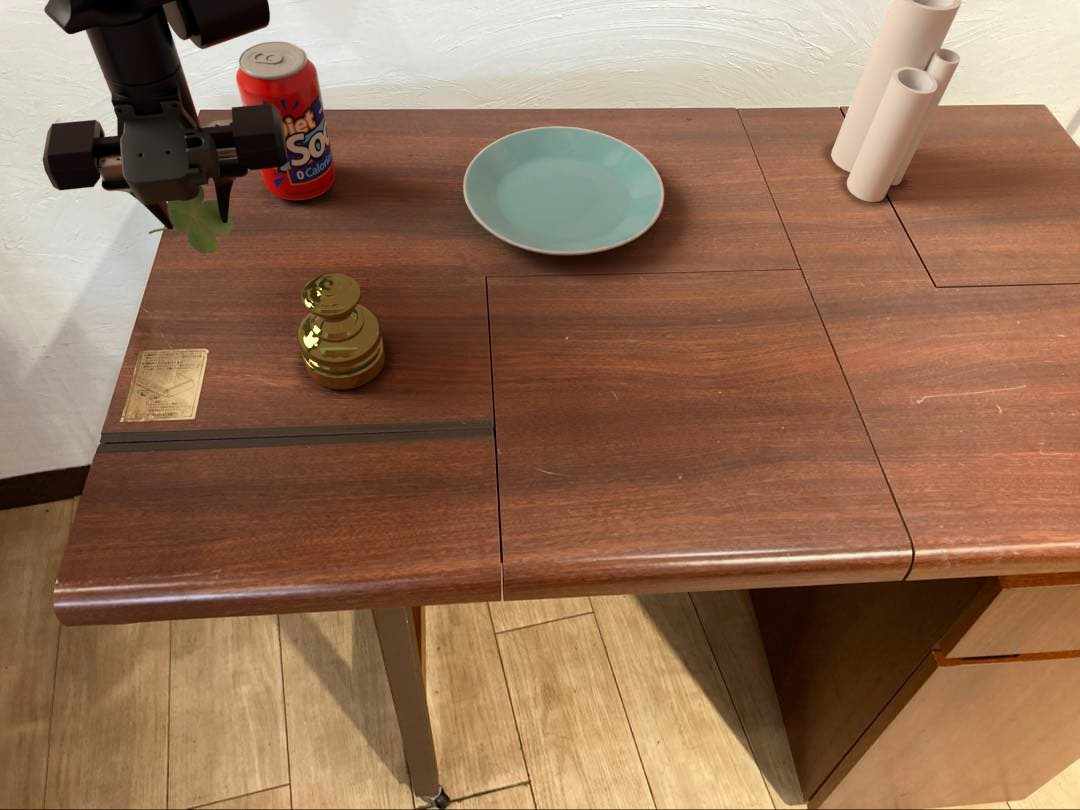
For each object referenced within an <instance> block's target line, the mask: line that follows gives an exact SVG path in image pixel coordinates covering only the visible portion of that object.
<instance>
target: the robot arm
mask: <svg viewBox="0 0 1080 810" xmlns="http://www.w3.org/2000/svg"><path fill="white" fill-rule="evenodd" d="M43 9H44V10H43V11H44V14H46V15H47V16H48V18H49V19H51V20H52V21H53V22H54V23H55V24H56V25H57V26H58V27H60V29H62V31H64V32H65V34H67V35H74V34H78V33H80V32H84V31H85V33H86V35H87V38H88V40H89V42H90V45H91V48H92V50H93V53H94V55H95V58H96V61H97V62H98V65H99V67H100V70H101V73H102V75H103V78H104V80H105V83H106V85H107V87H108V90H109V92H110V96H111V99H110V101H111V105H112V107H113V112H114V113H115V116H116V127H117V128H116V130H117V131H116V132H117V133H116V135H109V136H106V133H105V131H104V129H103V126H102V123H101V122H100V121H98V120H97V119H89V120H78V121H77V120H76V121H68V122H57V123H56V122H55V123H51V125H50V127H49V128H48V130H47V132H46V138H45V143H44V149H43V154H42V164H43V168H44V172H45V174H46V176H47V177H48V180H49V182H50V184H51V186H52V187H53V188H54V189H56V190H58V191H70V190H78V189H89V188H94V187H95V186H96V184H97V183H98V182H99V180H100V179H101V188H102V189H103V190H105V191H107V192H122V193H127V194H129V195H131V196H132V197H133V198H134V199H136V200H137V201H138V202H139V203H141V204H142V205H143V206H144V207H145V208H146V209H147V210H148V211H149V212H150V213H151V214H152V215H153V216H154V217H155V218H156V219H157V220H158V221H159V222H160V223H161V224H162V225H163V226H164V228H167V229H168V230H169V231H170V230H174V227H173V224H172V222H171V220H170V218H169V215H168V209H167V208H168V207H167V203H168V201H176V200H181V201H188V200H192V199H194V198H195V197H197V195H198V194H199V191H200V187H199V185H201V186H206V185H209V180H210V179H212V181H213V184H214V189H215V197H216V200H217V202H218V209H219V214H220V216H221V219H222V222H223V223H228V213H229V207H230V199H231V192H232V188H233V184H234V181H236V179H237V178H238V179H239V178H244V177H246V176H247V175H248V174H249V171H256V170H257V171H258V170H260V169H268V168H277V167H282V166H284V165H285V164H286V163H288V158H287V149H286V141H285V132H284V126H283V121H282V117H281V112H280V110H279V109H277V108H276V107H275V106H274V105H273V104H263V105H252V106H243V105H242V106H232V107H231V119H230V118H229V119H228V118H227V119H219V120H218V119H217V120H213V121H211V122H210V123H208V125H204V126H202V125H201V121H200V119H199V116H198V113H197V109H196V106H195V103H194V99H193V97H192V94H191V90H190V88H189V84H188V80H187V78H186V74H185V72H184V68H183V66H182V63H181V59H180V55H179V52H178V50H177V47H176V43H175V40H174V37H173V34H172V31H173V32H174V34H175V35H176V36H177V37H178V38H179V39H180V40H182V41H188V40H190V41H191V42H192V43H193V44H194V46H196V47H197V48H198V49H201V50H205V49H209V48H211V47H214V46H217V45H220V44H223V43H225V42H228V41H232V40H234V39H237V38H239V37H243V36H246V35H249V34H251V33H254V32H257V31H260V30H263V29H265V28H267V27H268V26H269V25H270V21H271V11H270V4H269V0H48V2H47V3H46V4H45V6H44V8H43ZM171 29H172V30H171Z"/></svg>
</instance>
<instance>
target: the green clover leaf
mask: <svg viewBox="0 0 1080 810" xmlns="http://www.w3.org/2000/svg"><path fill="white" fill-rule="evenodd" d="M199 187H200V191H199V194H198V195H197V197H195V198H194V199H192V200H188V201H181V200H176V201H167V207H168V208H167V209H168V215H169V218H170V220H171V222H172V224H173V228H174V229H175V230H176V232H178V233H179V234H186V232H188V233H187V239H188V242H189V244H190V245H191V247H192V248H193V249H195V250H196V251H198V252H199V253H201V254H215V253H216V251H218V249H219V242H218V240H217V237H216V236H215V235H214V233H216V234H217V235H220V236H221V237H228V236H230V234H231V232H232V229H234V227H235V219H234V218H235V217H234V213H233V210H232V209H231V207H230V206H229V213H228V223H223V222H222V219H221V216H220V214H219V209H218V202H217V199H209V200H208V199H207V200H205V201H204V198H205V190H204V187H203V185H199ZM188 229H189V230H188ZM167 230H169V229H167V228H166V227H161V228H156V229H153V230H150V231H148V234H149V235H151V234H154V233H157V232H162V231H167Z"/></svg>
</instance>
